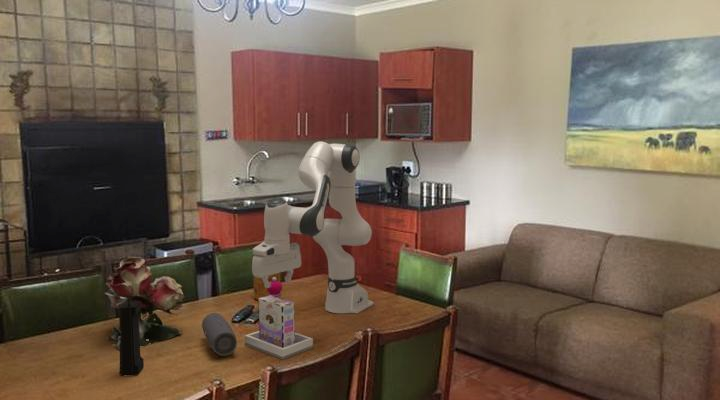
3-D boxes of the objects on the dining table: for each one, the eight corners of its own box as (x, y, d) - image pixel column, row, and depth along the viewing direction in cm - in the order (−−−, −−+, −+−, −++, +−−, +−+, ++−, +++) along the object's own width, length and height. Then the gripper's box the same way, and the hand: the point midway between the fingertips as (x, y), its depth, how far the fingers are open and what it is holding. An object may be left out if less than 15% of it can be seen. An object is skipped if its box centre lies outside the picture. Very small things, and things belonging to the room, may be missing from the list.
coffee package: (270, 294, 284) (269, 248, 281) (283, 301, 274) (282, 253, 271) (250, 298, 279) (249, 250, 276) (263, 305, 269) (262, 255, 266)
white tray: (275, 334, 232) (275, 325, 232) (312, 347, 219) (312, 338, 219) (244, 344, 222) (244, 335, 221) (282, 359, 208) (282, 349, 208)
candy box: (295, 347, 217) (295, 302, 215) (282, 351, 213) (282, 305, 210) (271, 337, 226) (270, 294, 224) (258, 341, 222) (257, 297, 220)
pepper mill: (280, 330, 237) (280, 279, 234) (263, 328, 238) (262, 278, 236) (286, 324, 244) (286, 275, 241) (269, 322, 245) (268, 274, 243)
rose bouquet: (194, 332, 235) (192, 255, 231) (122, 353, 213) (117, 269, 209) (158, 317, 252) (155, 245, 248) (88, 336, 230) (83, 257, 226)
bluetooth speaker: (200, 338, 228) (199, 312, 226) (225, 335, 231) (225, 309, 230) (211, 361, 207) (210, 332, 206) (238, 357, 211) (238, 329, 209)
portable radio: (126, 366, 202) (122, 292, 199) (144, 365, 203) (141, 292, 199) (118, 376, 194) (114, 300, 191) (138, 375, 195) (134, 299, 192)
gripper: (293, 240, 225) (293, 276, 227) (248, 249, 210) (249, 288, 212) (304, 242, 221) (305, 279, 223) (260, 252, 206) (261, 292, 208)
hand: (278, 284), depth 217 cm, fingers open, 8 cm apart
